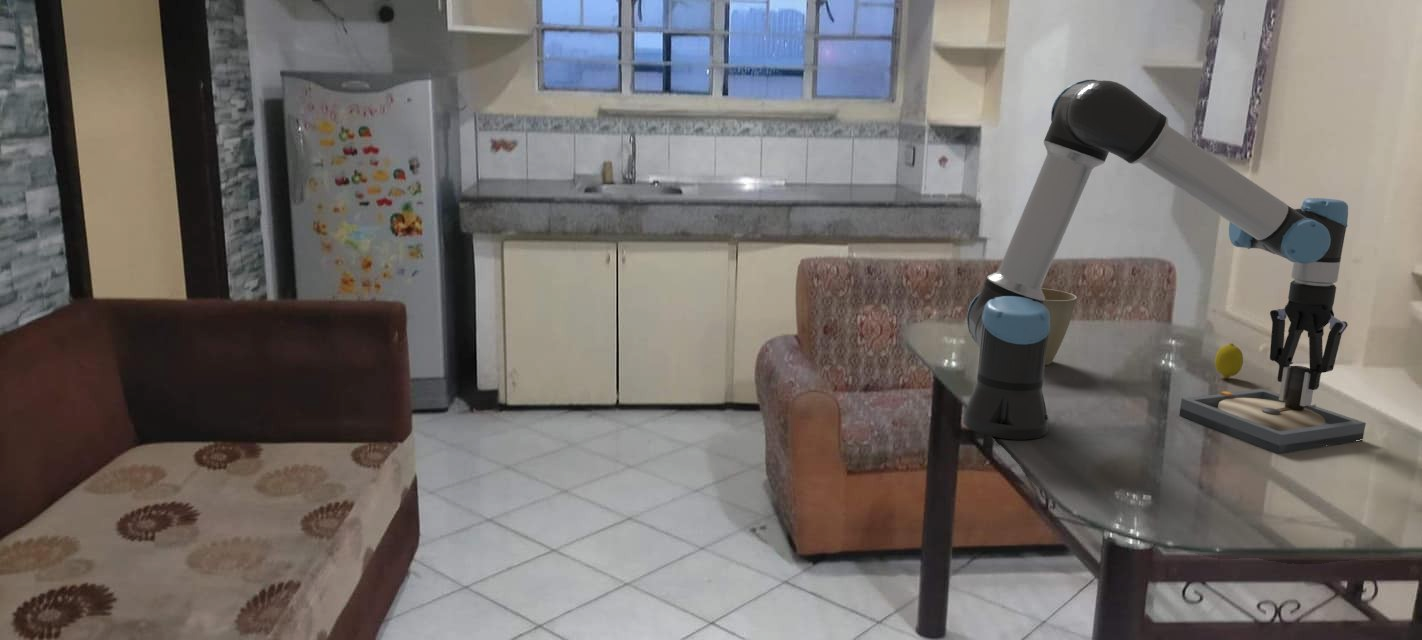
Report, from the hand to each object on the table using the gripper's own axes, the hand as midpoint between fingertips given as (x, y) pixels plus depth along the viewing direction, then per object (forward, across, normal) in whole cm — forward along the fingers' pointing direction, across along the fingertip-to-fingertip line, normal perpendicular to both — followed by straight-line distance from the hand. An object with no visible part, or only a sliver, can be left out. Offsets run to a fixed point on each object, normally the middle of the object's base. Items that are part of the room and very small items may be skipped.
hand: (1294, 401), depth 201 cm
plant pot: (+4, +54, +9) cm, 55 cm away
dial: (+3, +1, +7) cm, 7 cm away
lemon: (+4, +24, -19) cm, 31 cm away
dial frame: (+4, +1, +7) cm, 8 cm away
